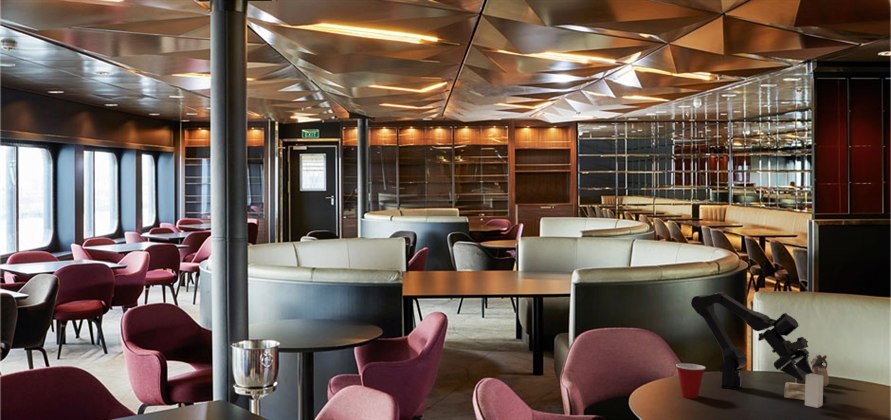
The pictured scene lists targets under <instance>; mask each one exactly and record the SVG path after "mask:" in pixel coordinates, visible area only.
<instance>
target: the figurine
mask: <svg viewBox="0 0 891 420" xmlns="http://www.w3.org/2000/svg"><path fill="white" fill-rule="evenodd" d="M827 358H828V356H827V355H826V354H825V355H823V356H822V355H821V354H819V353H818V354H816V355H815V356H814V357H812V361H810V364H811V365H810V367H811V370H812V372H813V374H817V375H822V376H823V387H827V385H828V386H829V382H830V380H829V379H830V378H829V373H828V370H827V368H828V361H827V360H826V359H827ZM823 363H824V364H825V365H824V364H823Z"/></svg>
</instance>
